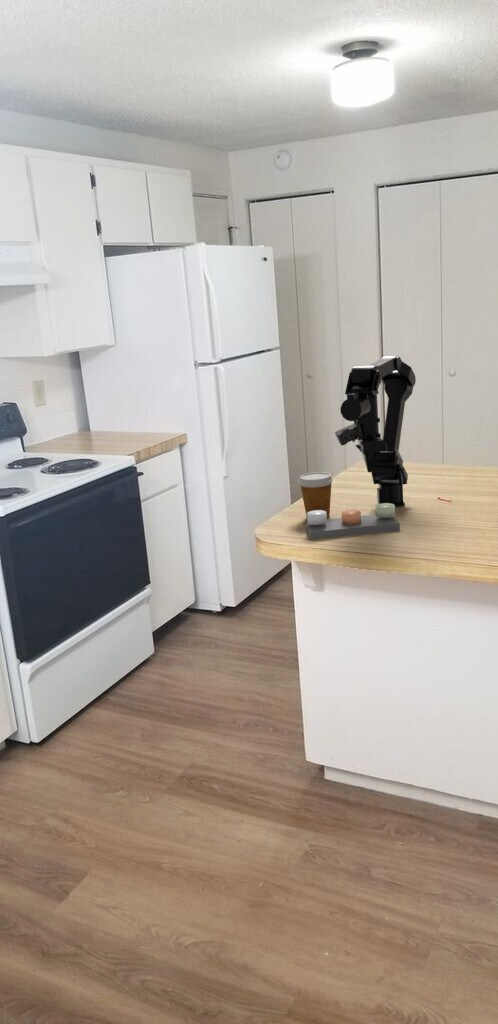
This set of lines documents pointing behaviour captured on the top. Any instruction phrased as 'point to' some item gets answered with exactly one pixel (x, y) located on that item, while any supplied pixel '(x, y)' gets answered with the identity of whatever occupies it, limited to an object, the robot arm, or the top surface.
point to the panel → (352, 527)
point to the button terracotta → (351, 517)
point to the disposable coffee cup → (316, 491)
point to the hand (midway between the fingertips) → (369, 471)
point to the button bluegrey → (316, 517)
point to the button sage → (385, 510)
